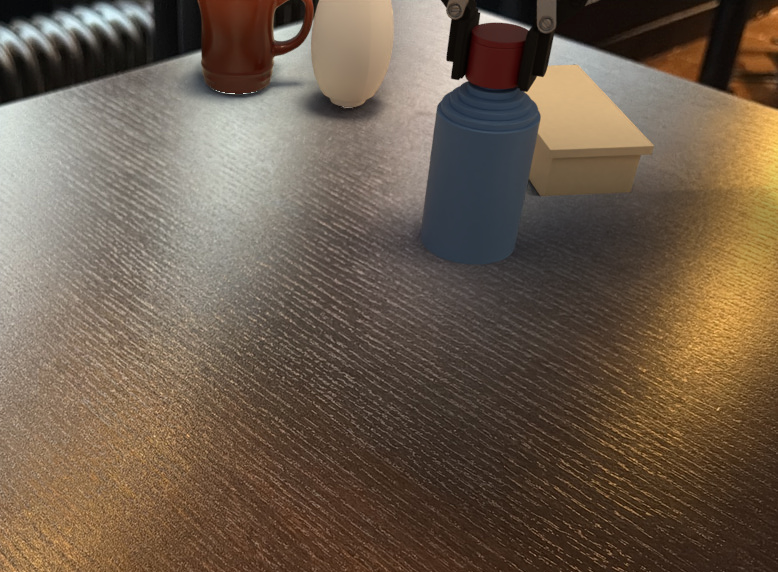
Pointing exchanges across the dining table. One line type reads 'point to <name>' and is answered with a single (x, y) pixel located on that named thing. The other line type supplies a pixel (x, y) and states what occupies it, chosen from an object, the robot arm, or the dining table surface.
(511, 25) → the cap
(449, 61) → the robot arm
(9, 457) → the dining table surface
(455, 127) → the bottle
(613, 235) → the dining table surface
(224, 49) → the mug
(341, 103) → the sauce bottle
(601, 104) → the sill
